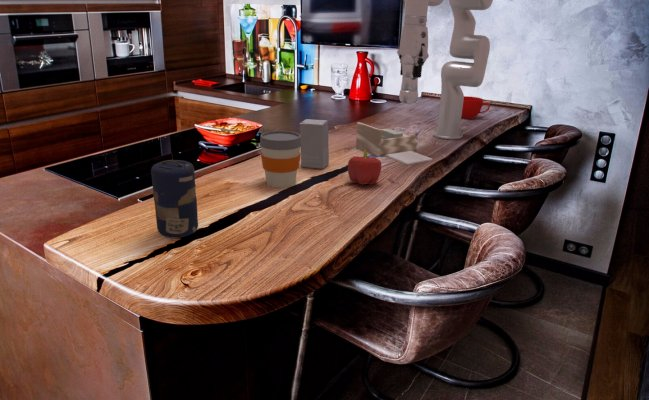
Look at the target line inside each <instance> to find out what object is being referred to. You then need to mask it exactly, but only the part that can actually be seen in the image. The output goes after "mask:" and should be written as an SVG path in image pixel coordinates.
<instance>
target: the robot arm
mask: <svg viewBox="0 0 649 400" xmlns="http://www.w3.org/2000/svg"><path fill="white" fill-rule="evenodd" d="M403 1H404V3H405V6H404V18H403V26H402V30H401V35H400V42H399V47H398V49H397V52H396V53H397V56H398V59H399V60H400V61H399V63H400V71H399V73H400V76H402V59H403V57H404V55H405V54H409V55H410V56H412V57H414V60H415V65H416V66H414V70H413V78H418V79H419V78H421V77H422V72H423V71H422V70H423V66H424V64H425V62H426V61H427V60H428V59H429V58H430V57H429V56H430V54H429V53H428V51H429V50H428V49H429V30H428V26H427V22H428V9H429V7H437V6H439V5H441V4H442V3H443V2H444V0H403ZM493 1H494V0H448V3H449V5H450V8H451V12H452V15H453V19H454V20H453V21H454V22H453V28H452V29H453V30H452V34H451V40H450V43H449V44H450V45H449V54H450V56H451V57H452V58H455V59H456V58H457V59H466V60H473V62H469V61H468V62H467V61H456V60H450V61H446V62H445V63H444V64H443V66H442V67H441V70H440V77H441V78H440V79H441V91H440V100H439V108H438V109H439V110H438V116H437V119H438V120H437V125H436V127H437V128H436V130H435V131H433V132H432V135H433V136H434V137H435V138H439V139H441V140H442V139H443V140H460V139H462V138H463V137H464V136H463V135H464V134H463V133H462V132H463V131H467V129H468V127H467V126H466V125H464V126H463V125H461V122H462V118H461V115H462V108H463V100H464V96H465V95H464V92H463V90H462V87H469V88H478V87H481V85H482V84H483V81H484V78H485V75H486V70H487V65H488V61H489V55H490V50H491V49H490V48H491V43H490V39H489V37H487V36H486V35H481V34H475V30H476V25H477V22H476V19H475V16H474V15H473V13H472V12H471V11H486V10H487V9H489V8H490V7H491V6H492V5H493ZM418 55H419V56H418ZM418 59H419V61H418Z"/></svg>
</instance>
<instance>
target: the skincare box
mask: <svg viewBox="0 0 649 400" xmlns="http://www.w3.org/2000/svg"><path fill="white" fill-rule="evenodd" d="M299 134H300V135H301V144H302V145H301V146H300V154H301V155H300V164H301V165H300V167H301V168H307V169H308V168H309V169H317V170H318V169H319V170H320V169H321V170H323V169H325V168H326V167H327V166H328V165H329V163H330V158H329V155H330V154H329V153H330V150H329V120H328V119H327V120H326V119H324V120H323V119H312V118H311V119H309V118H306V119H304V120H303V121H300V122H299Z"/></svg>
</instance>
